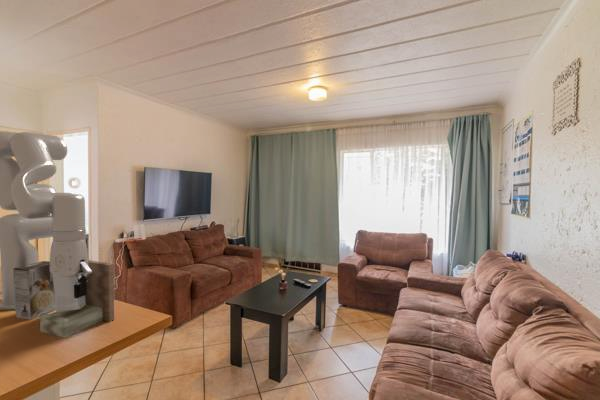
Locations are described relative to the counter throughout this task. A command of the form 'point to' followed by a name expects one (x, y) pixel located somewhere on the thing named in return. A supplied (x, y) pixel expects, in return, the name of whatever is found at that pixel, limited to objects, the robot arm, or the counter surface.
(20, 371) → the counter surface
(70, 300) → the skincare box
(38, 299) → the coffee box
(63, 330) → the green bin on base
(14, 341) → the counter surface
